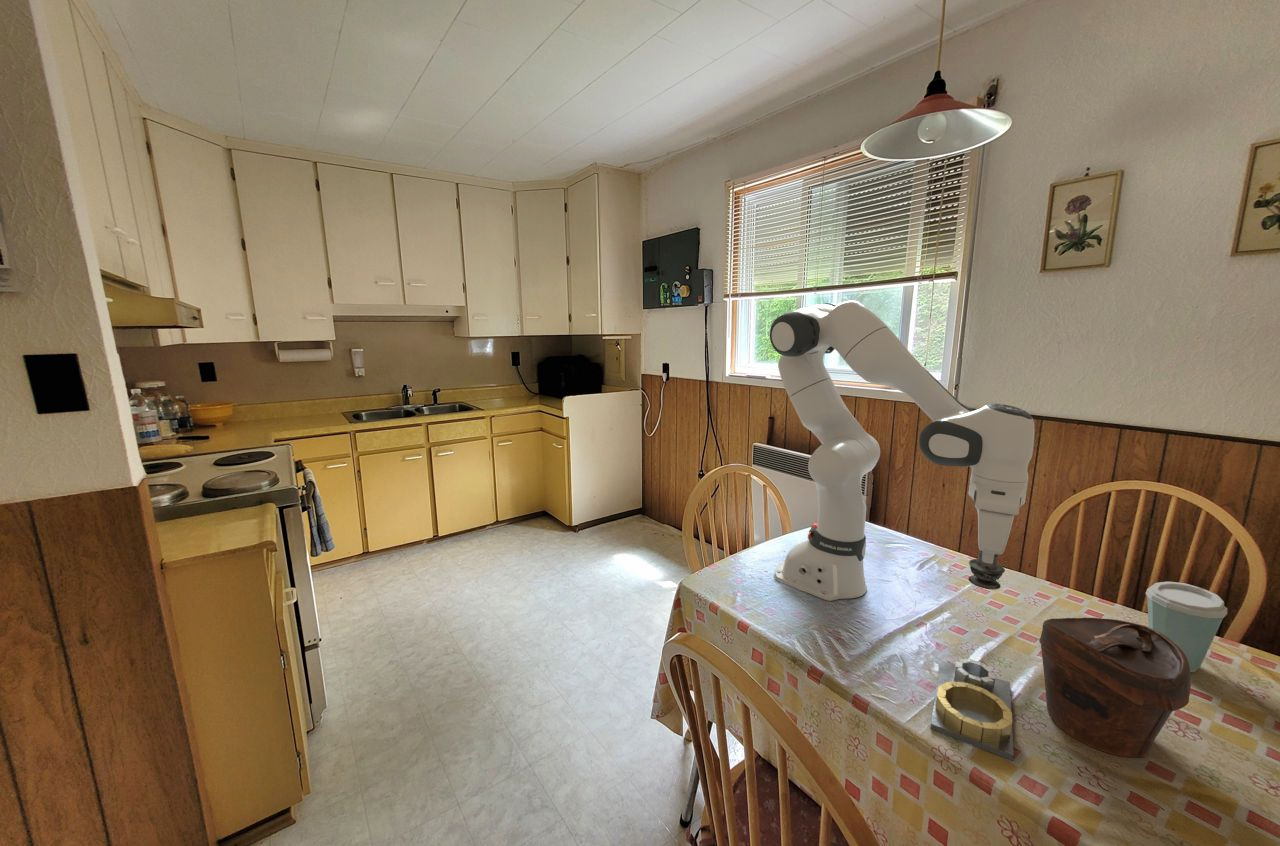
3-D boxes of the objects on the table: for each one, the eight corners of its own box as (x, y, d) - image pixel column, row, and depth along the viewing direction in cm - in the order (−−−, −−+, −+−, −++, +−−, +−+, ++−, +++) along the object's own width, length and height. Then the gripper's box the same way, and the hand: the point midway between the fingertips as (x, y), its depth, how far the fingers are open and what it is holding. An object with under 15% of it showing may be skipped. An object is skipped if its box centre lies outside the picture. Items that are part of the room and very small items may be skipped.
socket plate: (930, 728, 82) (932, 710, 82) (939, 664, 98) (941, 648, 97) (1012, 760, 76) (1015, 741, 75) (1009, 687, 91) (1011, 670, 91)
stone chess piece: (1008, 591, 95) (1017, 533, 92) (974, 588, 96) (982, 531, 93) (993, 576, 101) (1001, 520, 98) (961, 573, 102) (968, 519, 99)
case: (1169, 717, 84) (1188, 621, 81) (1184, 801, 70) (1209, 689, 66) (1035, 671, 96) (1047, 586, 92) (1025, 735, 81) (1038, 637, 78)
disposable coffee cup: (1189, 685, 91) (1206, 611, 88) (1120, 649, 102) (1133, 582, 99) (1226, 674, 94) (1244, 602, 91) (1155, 640, 104) (1170, 574, 101)
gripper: (978, 473, 105) (969, 534, 107) (975, 502, 88) (965, 573, 91) (1015, 478, 101) (1005, 541, 104) (1020, 509, 85) (1008, 583, 87)
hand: (987, 557), depth 97 cm, fingers closed on stone chess piece, 3 cm apart
